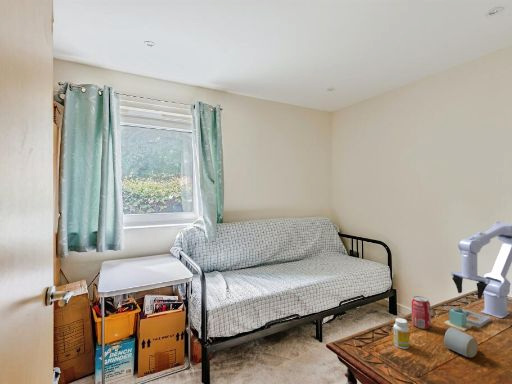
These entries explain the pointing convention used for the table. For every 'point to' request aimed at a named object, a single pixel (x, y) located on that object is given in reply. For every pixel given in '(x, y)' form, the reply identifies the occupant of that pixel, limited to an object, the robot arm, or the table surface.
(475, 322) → the block
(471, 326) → the cork coaster
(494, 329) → the table surface
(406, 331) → the supplement bottle
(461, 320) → the teal cube with dome
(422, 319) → the soda can
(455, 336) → the grey cylinder
